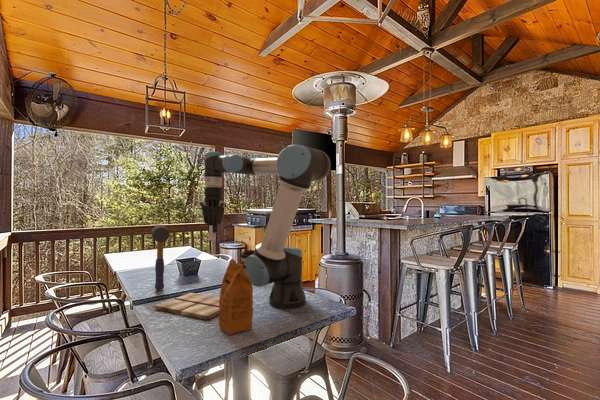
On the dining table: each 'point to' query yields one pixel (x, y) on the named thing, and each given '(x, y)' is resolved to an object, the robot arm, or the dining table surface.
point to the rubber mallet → (159, 253)
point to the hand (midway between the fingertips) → (212, 239)
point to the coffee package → (235, 300)
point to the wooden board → (200, 299)
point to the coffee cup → (246, 254)
